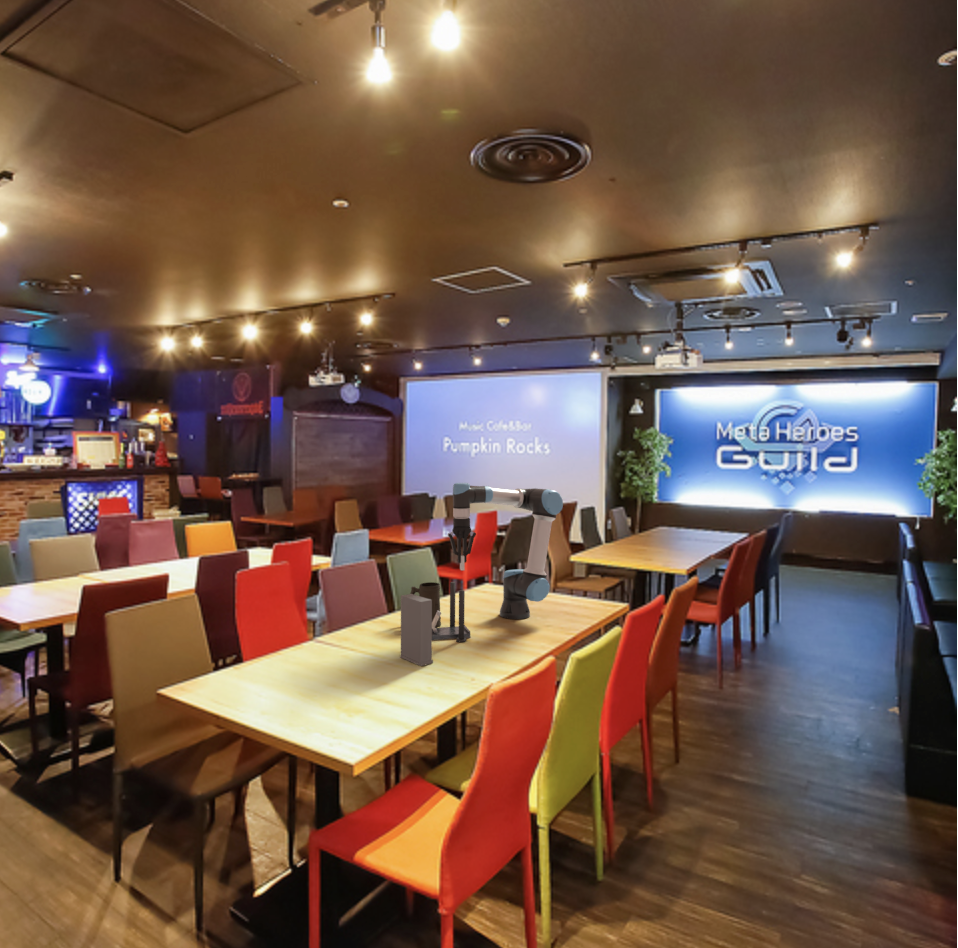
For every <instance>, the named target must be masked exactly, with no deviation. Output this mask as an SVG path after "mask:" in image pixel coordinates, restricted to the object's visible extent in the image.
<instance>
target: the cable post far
mask: <svg viewBox="0 0 958 948" xmlns="http://www.w3.org/2000/svg"><path fill="white" fill-rule="evenodd" d="M449 584H450V585H449V627H456V581H451V582H449Z"/></svg>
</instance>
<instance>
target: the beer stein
mask: <svg viewBox="0 0 958 948" xmlns="http://www.w3.org/2000/svg"><path fill="white" fill-rule="evenodd" d="M410 589H411V591H410V593H409V594H414V595H416V593H418V594H419V595H418V596H420V597H424V598H427V599H430V600H432V622H433V619H434V617H435V615H436V612H437V610H438V611H440V612H441V599H440V598H441V597H440V596H441V594H440V592H441V585H440V583H439V582H435V581H434V582H431V581H430V582H422V583H420V584H419V588H418V587H416V586H411V587H410ZM441 619H442V618H441V616H440V617H439V619H438V621H437V623H436V626H435V628H440V627H441V625H442V623H441V622H442V621H441Z"/></svg>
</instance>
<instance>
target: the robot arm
mask: <svg viewBox="0 0 958 948" xmlns="http://www.w3.org/2000/svg"><path fill="white" fill-rule="evenodd" d="M471 504H495V505H506V506H513V508H516V509H523V510H527V511H530V512H532V514H531V515H532V517H533V518H534V521H533V527H532V533H531V538H530V539H531V540H530V544H529V553H528V558H527V564H526V567H525V568H524V569H522V568H519V569H516V568H515V569H508V570H505V571H504V573H503V577H502V579H503V581H502V582H503V585H502V586H503V588H502V589H503V597H502V598H503V599H502V603H501V606H500V609H499V617H501V618H505V619H508V620H509V619H510V620H525V619H527V618H530V616H531V610H530V607H529V605H528V601H530V602H534V603H535V602H541V601H543V600H544V599H545V598H547V597H548V594H549V592H550V588H551V586H550V583H549V581H548V580H547V575H548V574H547V573H546V571H545V569H546V563H547V556H548V549H549V543H550V538H551V537H550V536H551V532H552V531H551V529H552V524H553V521H555V520H556V519H557V515H559V513H561V511H563V508H564V507H563V506H564V501H563V497H562V495H561V494H560V493H559V492H558V491H557V490H554V489H553V490H552V489H546V488H536V487H535V488H515V489H508V488H507V489H505V488H497V487H496V488H495V487H491V486H489V485H488V486H487V485H482V486H479V485H470V483H469V482H455V483H453V486H452V510H453V512H452V515H453V520H452V523H453V524H452V525H453V526H452V530H451V531H450V532H449V533H447V536H448V538H449V540H450V545H451V548H452V553H453V554H454V555H456V556H457V563H458V564H459V570H460V571H461V572H462V571H466V569H465V564H466V563H467V562H468V561H467V559H468V558H467V556H468V555H470V554H471V552H472V549H473V544H474V539H475V537H476V535H477V533H476V532H475V531H473V530H472V528H471V518H470V517H471ZM454 536H455V537H456V542H455V539H454ZM468 537H469V540H468ZM467 540H468V541H467ZM455 543H456V544H455ZM467 543H468V544H467Z"/></svg>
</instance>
